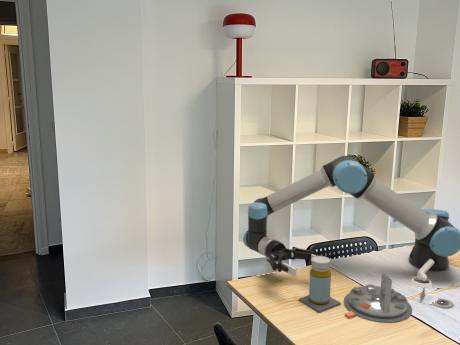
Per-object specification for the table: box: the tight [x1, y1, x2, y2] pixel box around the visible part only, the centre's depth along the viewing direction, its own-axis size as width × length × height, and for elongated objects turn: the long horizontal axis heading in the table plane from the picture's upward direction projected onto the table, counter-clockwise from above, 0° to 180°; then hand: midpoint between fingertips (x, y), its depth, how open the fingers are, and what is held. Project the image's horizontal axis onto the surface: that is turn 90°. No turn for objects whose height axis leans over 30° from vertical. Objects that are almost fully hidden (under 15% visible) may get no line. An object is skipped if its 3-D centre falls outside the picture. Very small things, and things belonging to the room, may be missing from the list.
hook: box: [410, 259, 434, 289], centre depth 166 cm, size 8×12×7 cm
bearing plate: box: [343, 293, 413, 324], centre depth 151 cm, size 22×22×1 cm
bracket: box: [419, 288, 455, 309], centre depth 152 cm, size 7×10×4 cm, turn 57°
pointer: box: [344, 311, 357, 320], centre depth 144 cm, size 3×2×1 cm, turn 122°
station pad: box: [298, 294, 342, 314], centre depth 153 cm, size 10×10×1 cm
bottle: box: [308, 255, 332, 305], centre depth 151 cm, size 7×7×15 cm
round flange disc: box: [348, 274, 409, 319], centre depth 149 cm, size 19×19×13 cm
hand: (310, 268), depth 154 cm, fingers open, 13 cm apart
